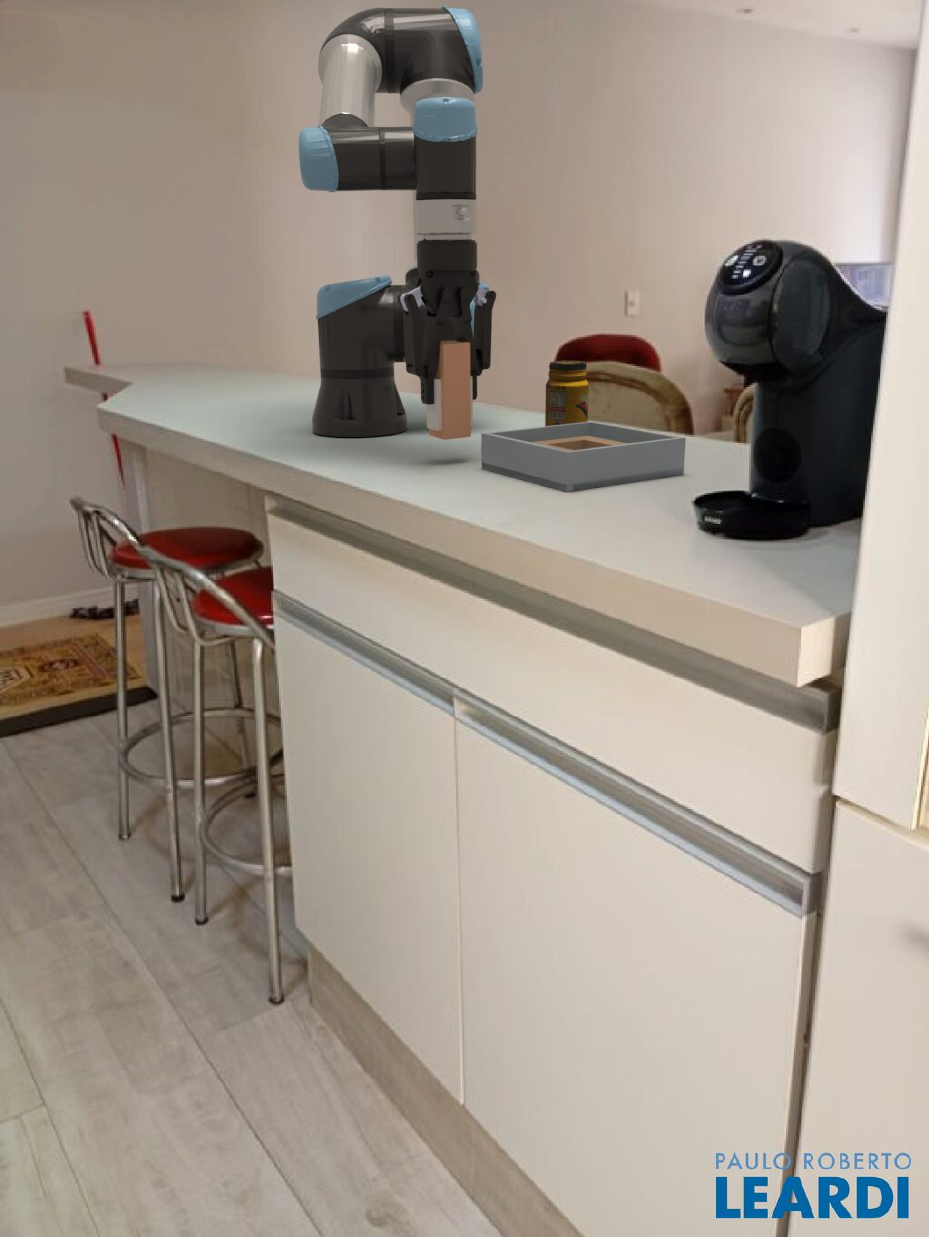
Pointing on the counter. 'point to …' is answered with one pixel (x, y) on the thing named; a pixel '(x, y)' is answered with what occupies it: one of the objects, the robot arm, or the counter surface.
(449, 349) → the peg
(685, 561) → the counter surface
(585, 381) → the condiment
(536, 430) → the tray box
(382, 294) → the robot arm
